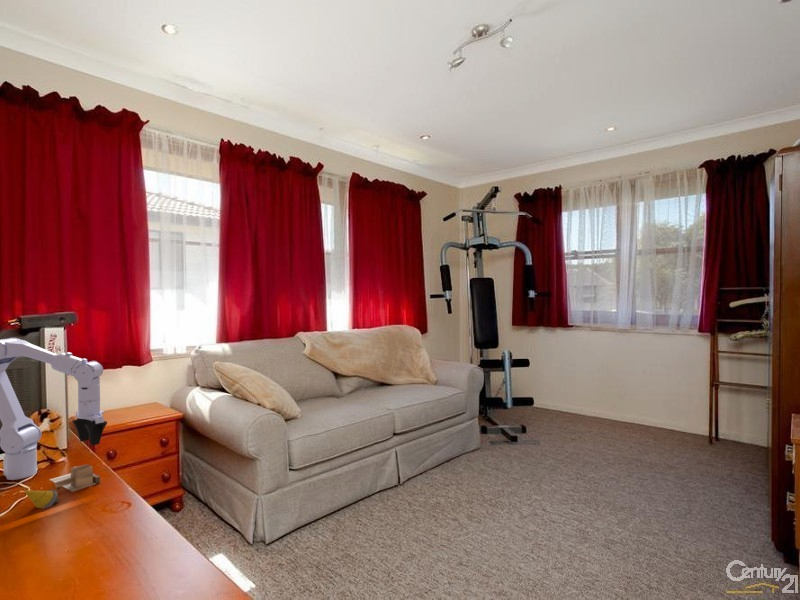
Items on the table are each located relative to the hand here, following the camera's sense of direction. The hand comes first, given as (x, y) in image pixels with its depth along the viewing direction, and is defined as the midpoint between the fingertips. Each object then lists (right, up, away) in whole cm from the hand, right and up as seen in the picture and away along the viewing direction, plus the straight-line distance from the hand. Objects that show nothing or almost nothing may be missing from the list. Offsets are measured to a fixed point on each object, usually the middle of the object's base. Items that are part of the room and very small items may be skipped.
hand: (89, 442), depth 139 cm
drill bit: (+6, -10, -25) cm, 27 cm away
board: (+2, -10, -9) cm, 13 cm away
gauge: (+5, -9, -13) cm, 16 cm away
